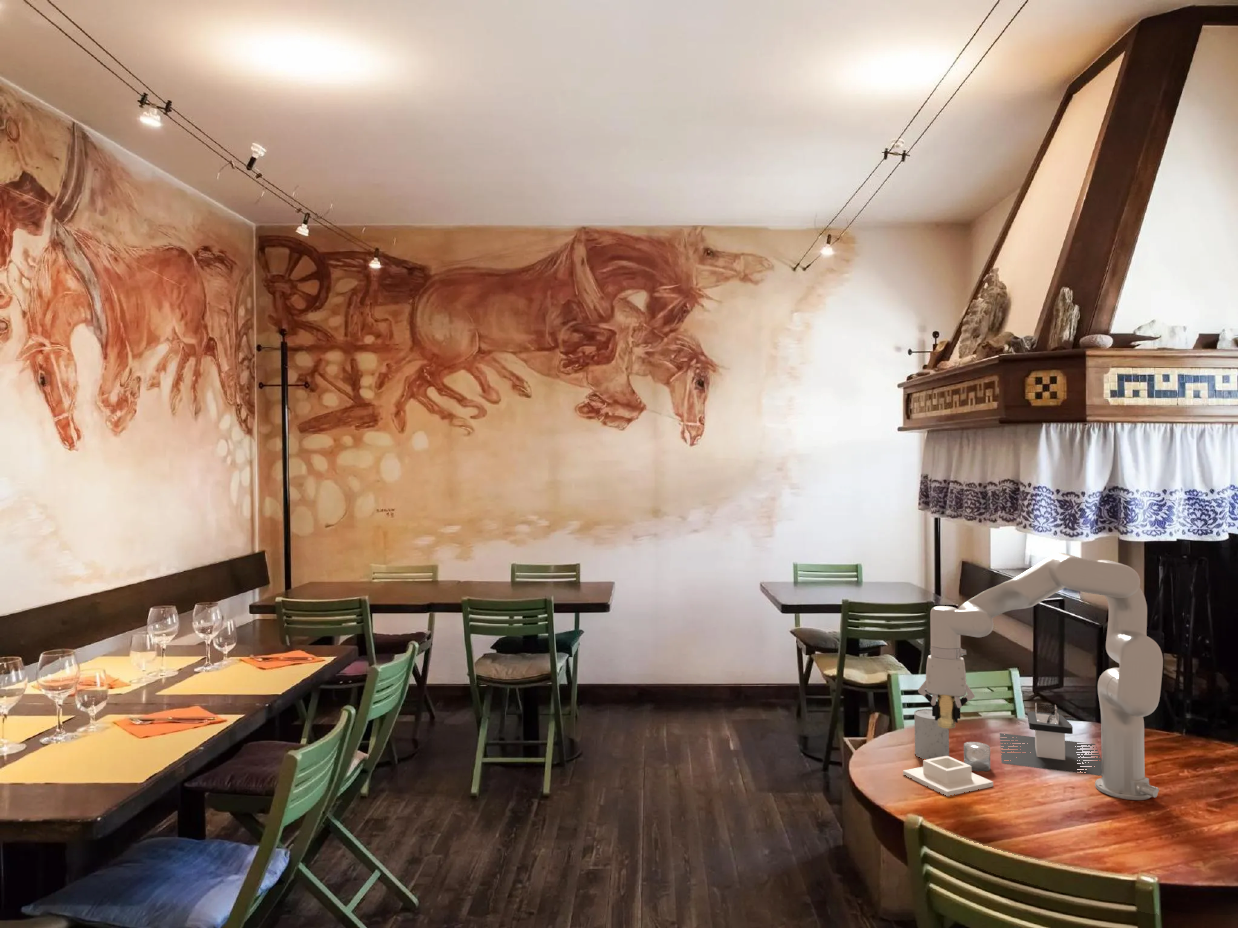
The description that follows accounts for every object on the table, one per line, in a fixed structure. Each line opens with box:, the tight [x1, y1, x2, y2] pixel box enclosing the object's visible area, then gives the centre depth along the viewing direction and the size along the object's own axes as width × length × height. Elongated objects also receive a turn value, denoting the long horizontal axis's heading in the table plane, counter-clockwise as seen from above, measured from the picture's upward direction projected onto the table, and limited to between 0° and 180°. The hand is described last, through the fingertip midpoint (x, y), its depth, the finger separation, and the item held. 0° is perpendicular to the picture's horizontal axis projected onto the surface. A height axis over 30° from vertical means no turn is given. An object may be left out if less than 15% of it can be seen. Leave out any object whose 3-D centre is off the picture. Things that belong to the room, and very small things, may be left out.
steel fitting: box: [963, 741, 991, 772], centre depth 228 cm, size 7×7×6 cm
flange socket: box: [902, 755, 994, 797], centre depth 218 cm, size 16×16×5 cm
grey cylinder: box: [913, 708, 950, 760], centre depth 237 cm, size 10×10×12 cm
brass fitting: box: [936, 695, 956, 730], centre depth 218 cm, size 4×4×9 cm
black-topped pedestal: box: [999, 702, 1102, 777], centre depth 238 cm, size 28×26×13 cm
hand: (946, 719), depth 218 cm, fingers closed on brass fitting, 4 cm apart
